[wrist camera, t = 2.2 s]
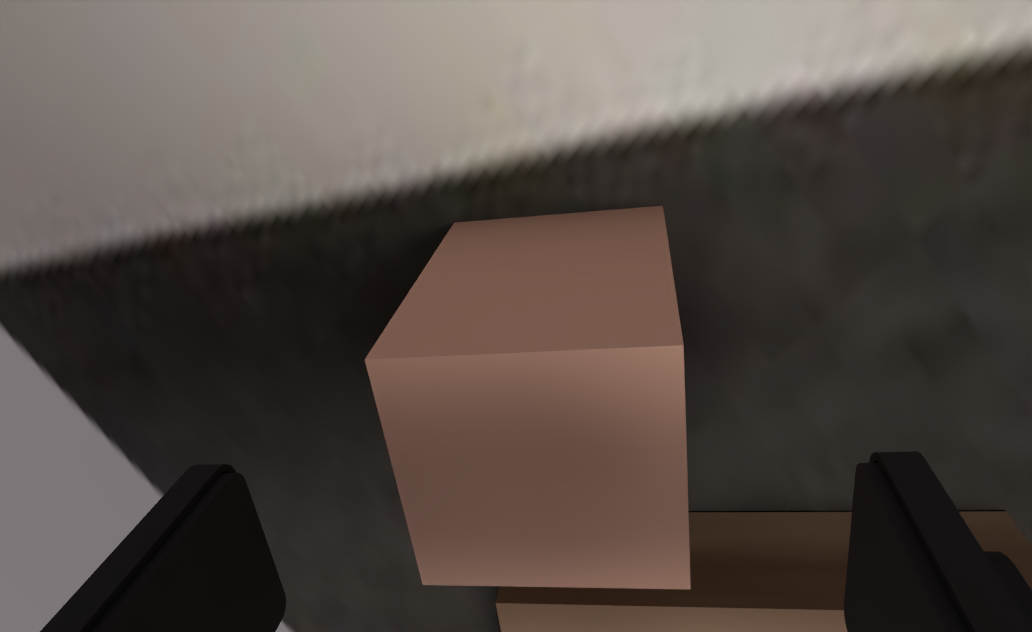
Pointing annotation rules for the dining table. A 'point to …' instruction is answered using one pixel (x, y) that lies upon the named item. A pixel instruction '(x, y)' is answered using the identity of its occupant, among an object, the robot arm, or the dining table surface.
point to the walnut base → (738, 579)
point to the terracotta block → (541, 405)
